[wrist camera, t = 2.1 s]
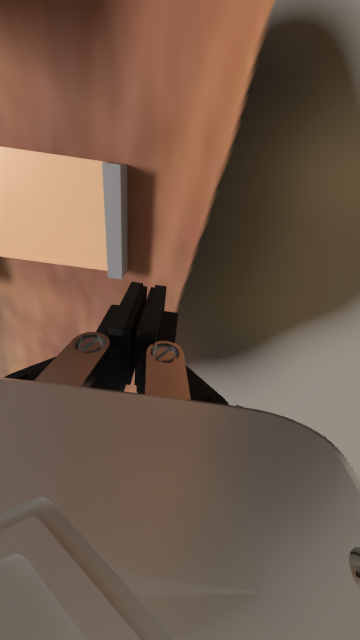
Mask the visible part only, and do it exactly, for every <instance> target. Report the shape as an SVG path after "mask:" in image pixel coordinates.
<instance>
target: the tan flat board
mask: <svg viewBox="0 0 360 640" xmlns="http://www.w3.org/2000/svg"><path fill="white" fill-rule="evenodd" d="M0 256H1V257H8V258H16V259H23V260H31V261H38V262H46V263H53V264H61V265H68V266H76V267H83V268H91V269H98V270H106V271H108V278H116V279H123V277H124V275H125V274H126V272H127V270H128V176H127V164H120V163H113V162H107V161H100V160H93V159H86V158H79V157H72V156H66V155H59V154H52V153H45V152H38V151H31V150H25V149H18V148H11V147H4V146H0Z"/></svg>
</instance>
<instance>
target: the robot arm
mask: <svg viewBox="0 0 360 640" xmlns="http://www.w3.org/2000/svg"><path fill="white" fill-rule="evenodd" d="M165 297H166V286H159V285H155V288H153V287H151V289H150V292H149V295H148V298H147V287H145V286H143V283H137V282H131V284H130V286H129V288H128V290H127V292H126V294H125V296H124V298H123V300H122V302H121V304H120V305H111V307H110V308H109V310H108V312H107V314H106V315H105V317H104V319H103V321H102V322H101V324H100V326H99V328H98V329H97V331H96V332H87V333H83V334H81V335H78V336H77V337H75V338H74V339H73V340H72V341H71V342H70V343H69V344H68V345H67V346H66V347H65V348H64V349H63V350H62V351H61V353H60V354H59V355H58V356H57V357H54V358H51V359H49V360H46V361H43V362H41V363H38V364H35V365H33V366H30V367H27V368H25V369H22V370H19V371H17V372H14V373H12V374H10V375H8V376H6V377H4V378H2V377H0V640H360V479H359V477H358V475H357V474H356V472H355V471H354V469H353V467H352V466H351V465H350V463H349V462H348V461H347V459H346V458H345V457H344V455H343V454H342V453H341V451H339V449H338V448H337V447H335V445H334V444H332V442H331V441H329V440H328V439H327V438H326V437H324V436H323V435H321V434H320V433H318V432H317V431H315V430H313V429H311V428H309V427H308V426H305V425H303V424H301V423H299V422H297V421H294V420H292V419H289V418H286V417H283V416H280V415H277V414H274V413H270V412H266V411H262V410H257V409H251V408H245V407H242V406H238V405H236V406H232V405H229V404H228V403H227V401H226V400H225V399H224V398H223V397H222V396H221V395H219V394H218V393H217V392H216V391H215V390H214V389H212V388H211V387H210V386H209V385H208V384H207V383H205V382H204V381H203V380H202V379H201V378H200V377H199V376H197V375H196V374H195V373H194V372H193V371H192V370H191V369H189V368H188V367H187V366H186V365H185V360H184V354H183V351H182V349H181V348H180V347H179V346H178V345H177V344H175V337H176V328H177V318H178V313H174V312H167V311H164V307H165ZM146 299H147V301H146ZM134 370H135V385H136V386H137V393H131V392H124V389H125V386H126V384H127V385H130V384H131V380H132V377H133V373H134Z"/></svg>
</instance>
